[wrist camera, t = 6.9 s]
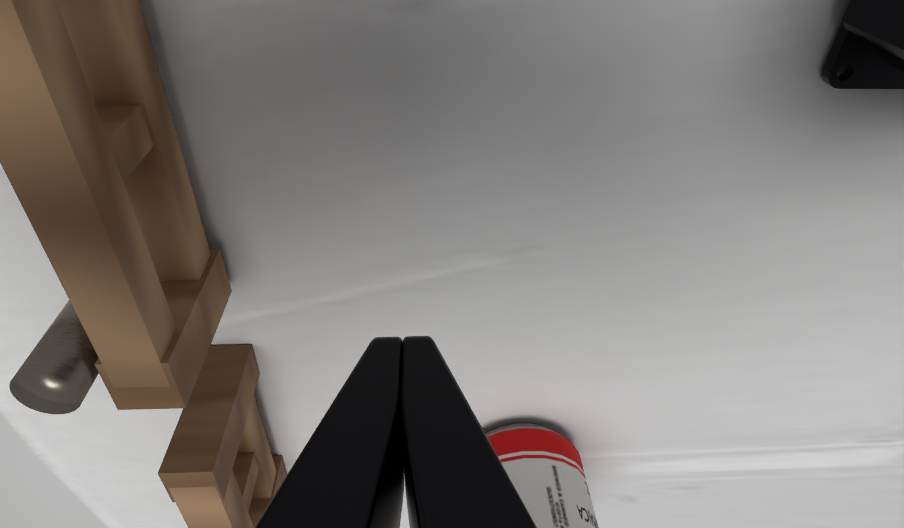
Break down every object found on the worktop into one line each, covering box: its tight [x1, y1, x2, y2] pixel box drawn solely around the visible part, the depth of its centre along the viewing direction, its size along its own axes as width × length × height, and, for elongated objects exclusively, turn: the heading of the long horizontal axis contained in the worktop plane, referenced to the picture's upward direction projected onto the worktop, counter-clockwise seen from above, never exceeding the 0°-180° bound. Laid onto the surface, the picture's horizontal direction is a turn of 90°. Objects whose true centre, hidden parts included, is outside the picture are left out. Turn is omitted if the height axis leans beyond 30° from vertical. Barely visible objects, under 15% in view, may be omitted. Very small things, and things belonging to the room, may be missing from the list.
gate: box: [0, 0, 231, 410], centre depth 15 cm, size 15×2×6 cm, turn 178°
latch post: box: [10, 300, 99, 414], centre depth 19 cm, size 3×3×6 cm
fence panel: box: [158, 344, 287, 528], centre depth 25 cm, size 10×2×6 cm, turn 179°
